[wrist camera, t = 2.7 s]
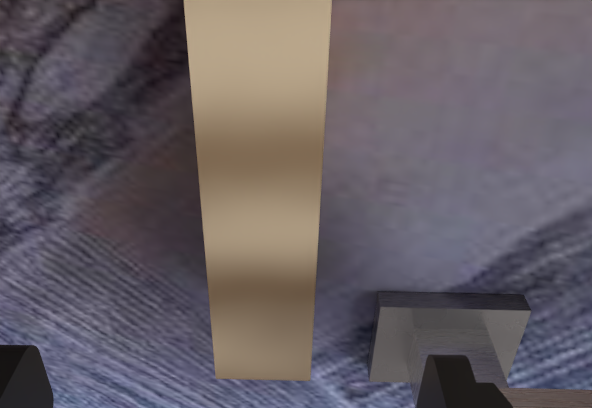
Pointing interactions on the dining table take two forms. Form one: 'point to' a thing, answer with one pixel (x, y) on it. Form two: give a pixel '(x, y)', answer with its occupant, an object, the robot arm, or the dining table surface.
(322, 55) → the maple rail
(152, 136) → the dining table surface
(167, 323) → the dining table surface
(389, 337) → the cup bracket
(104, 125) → the dining table surface
